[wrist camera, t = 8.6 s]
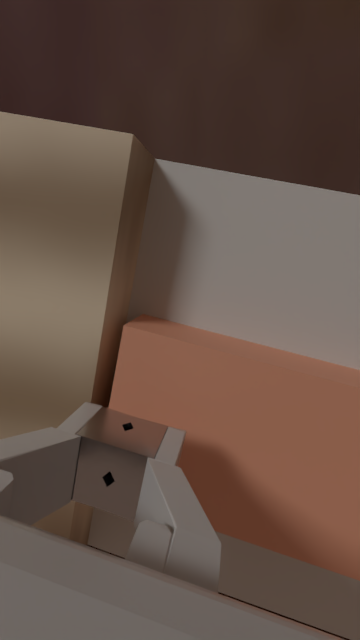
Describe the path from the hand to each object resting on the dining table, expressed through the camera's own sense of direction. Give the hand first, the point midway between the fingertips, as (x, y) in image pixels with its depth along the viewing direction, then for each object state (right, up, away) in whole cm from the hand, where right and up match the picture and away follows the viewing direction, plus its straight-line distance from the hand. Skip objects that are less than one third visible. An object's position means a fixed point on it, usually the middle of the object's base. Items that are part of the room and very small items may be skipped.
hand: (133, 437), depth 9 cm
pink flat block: (+4, 0, +3) cm, 5 cm away
